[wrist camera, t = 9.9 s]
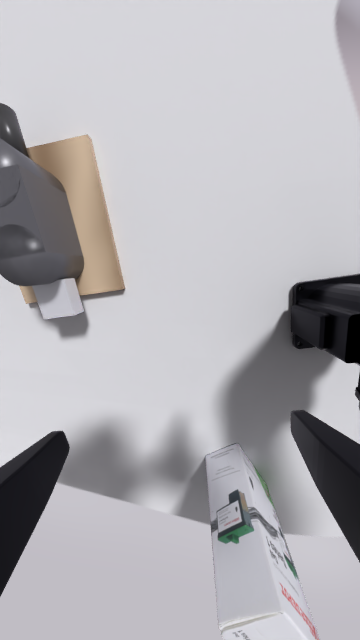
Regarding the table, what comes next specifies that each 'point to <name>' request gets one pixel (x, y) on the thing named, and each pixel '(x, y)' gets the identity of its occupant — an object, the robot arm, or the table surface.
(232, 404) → the table surface
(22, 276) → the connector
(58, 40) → the table surface
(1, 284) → the table surface
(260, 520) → the ink box
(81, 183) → the light brown wooden board
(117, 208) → the table surface
